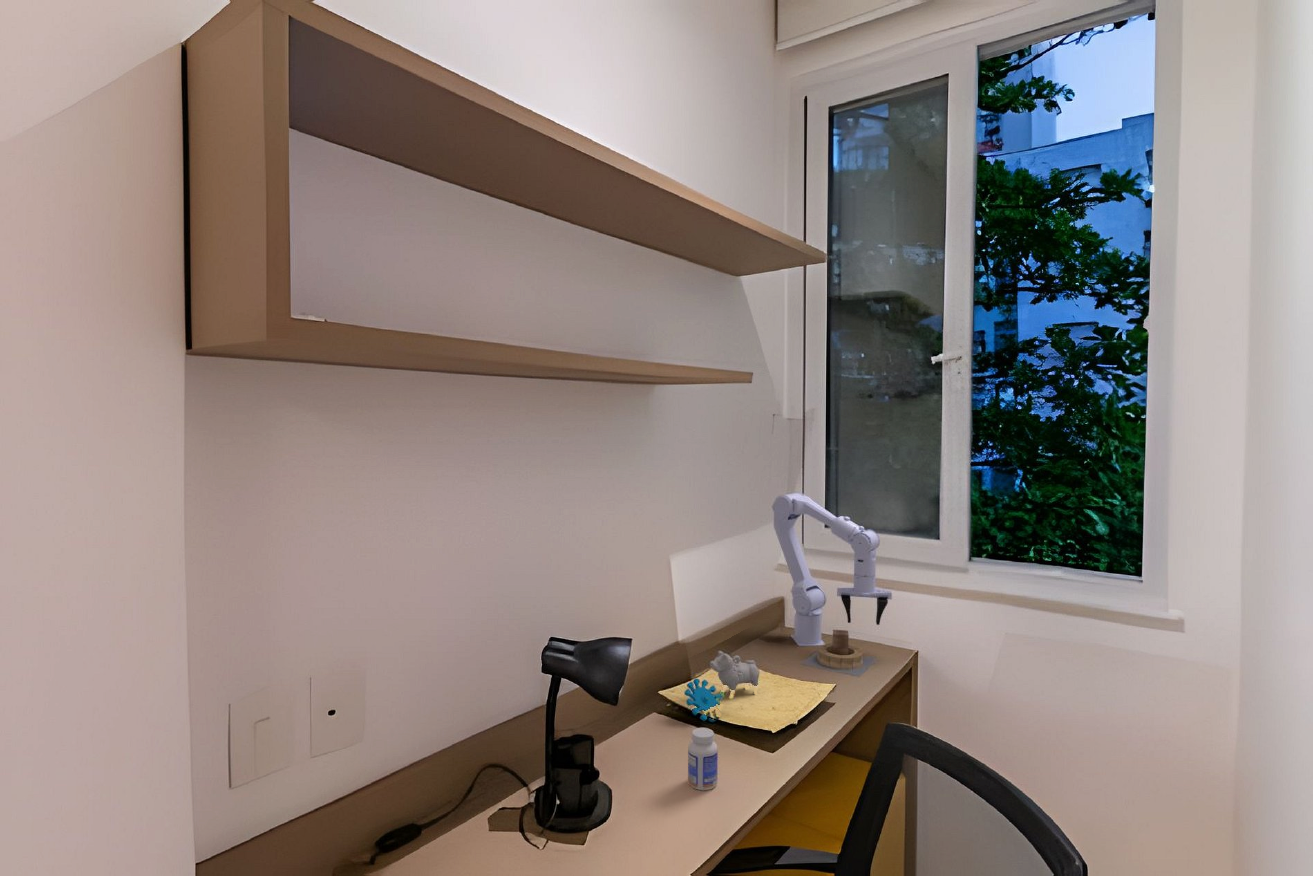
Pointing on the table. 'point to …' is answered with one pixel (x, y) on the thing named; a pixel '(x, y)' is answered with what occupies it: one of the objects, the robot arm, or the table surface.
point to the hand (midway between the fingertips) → (863, 622)
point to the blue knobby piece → (702, 697)
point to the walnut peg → (840, 642)
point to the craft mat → (855, 672)
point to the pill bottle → (702, 760)
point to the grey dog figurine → (734, 670)
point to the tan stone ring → (840, 657)
